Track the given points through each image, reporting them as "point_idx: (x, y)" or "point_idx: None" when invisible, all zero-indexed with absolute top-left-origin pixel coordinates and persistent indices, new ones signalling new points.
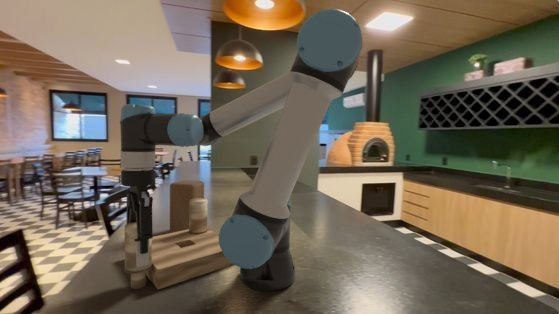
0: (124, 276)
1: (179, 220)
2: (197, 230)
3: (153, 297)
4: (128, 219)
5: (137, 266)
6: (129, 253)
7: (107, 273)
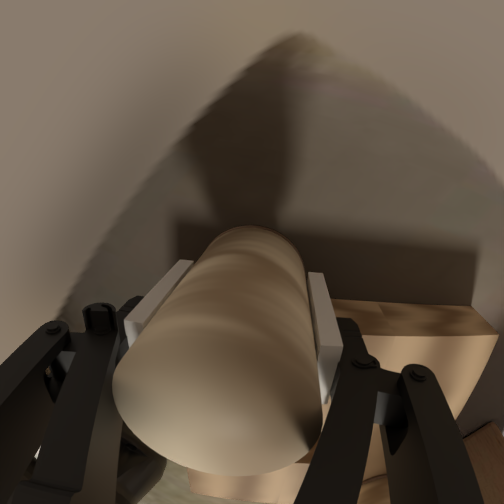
0: (359, 240)
1: (479, 467)
2: (361, 492)
3: (156, 257)
4: (411, 415)
5: (177, 262)
6: (202, 261)
7: (422, 206)
